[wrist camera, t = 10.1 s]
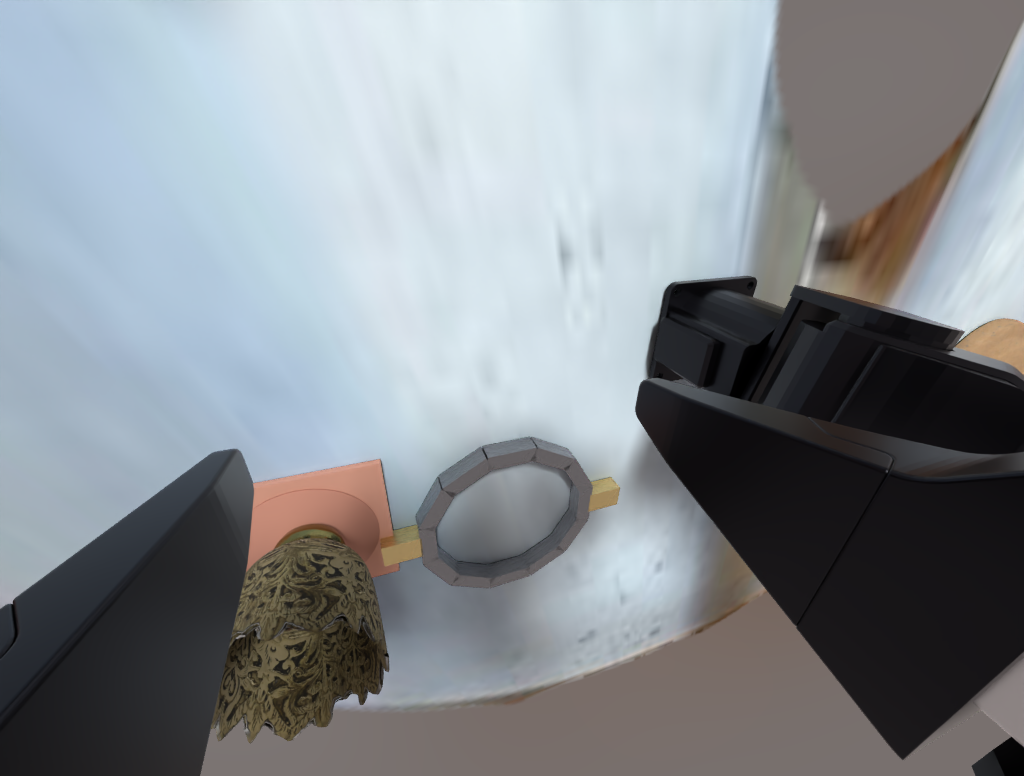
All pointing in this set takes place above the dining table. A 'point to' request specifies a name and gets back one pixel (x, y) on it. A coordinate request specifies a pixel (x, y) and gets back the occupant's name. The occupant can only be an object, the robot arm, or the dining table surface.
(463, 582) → the collar
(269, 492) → the coaster
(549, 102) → the dining table surface
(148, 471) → the dining table surface
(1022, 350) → the candle holder
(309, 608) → the cup
